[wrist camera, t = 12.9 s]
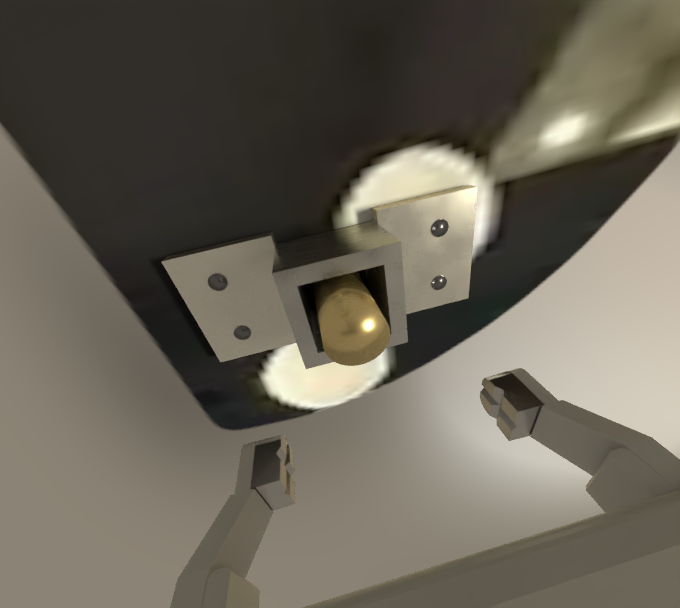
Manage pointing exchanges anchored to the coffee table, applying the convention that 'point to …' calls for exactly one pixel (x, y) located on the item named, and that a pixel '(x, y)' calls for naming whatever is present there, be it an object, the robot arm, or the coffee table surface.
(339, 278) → the hinge pin
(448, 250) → the hinge
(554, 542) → the robot arm
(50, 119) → the coffee table surface
